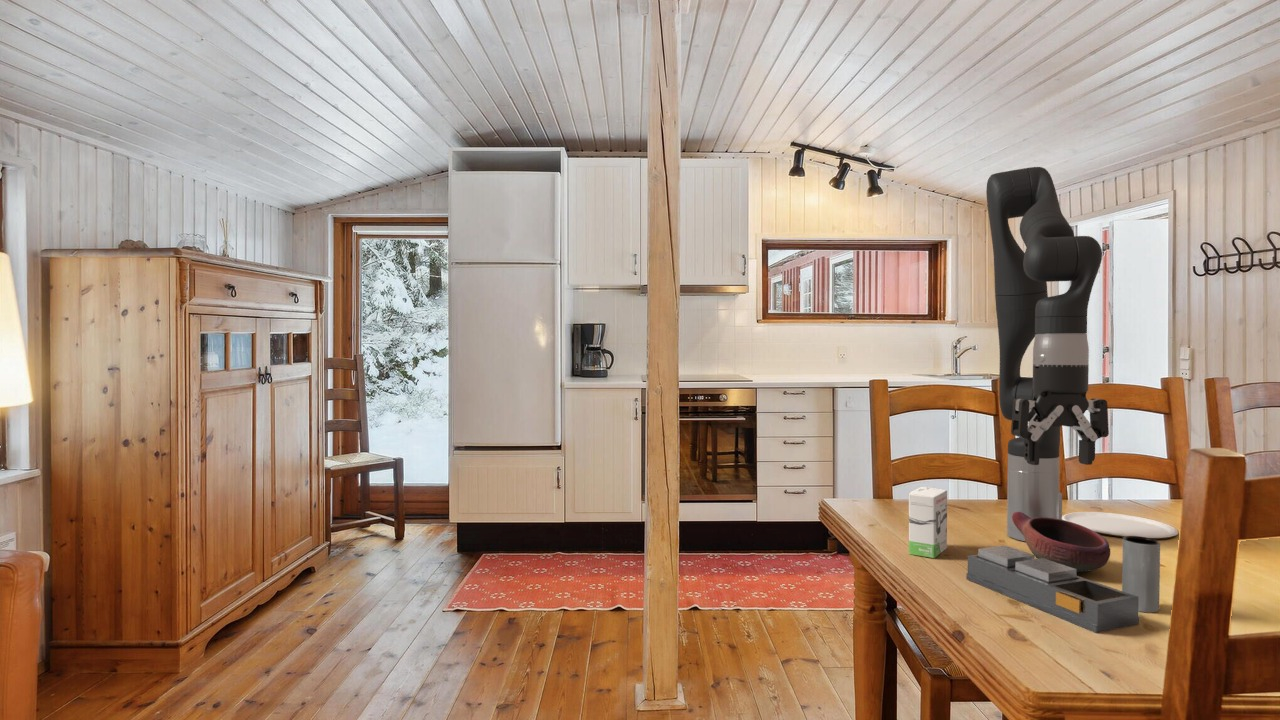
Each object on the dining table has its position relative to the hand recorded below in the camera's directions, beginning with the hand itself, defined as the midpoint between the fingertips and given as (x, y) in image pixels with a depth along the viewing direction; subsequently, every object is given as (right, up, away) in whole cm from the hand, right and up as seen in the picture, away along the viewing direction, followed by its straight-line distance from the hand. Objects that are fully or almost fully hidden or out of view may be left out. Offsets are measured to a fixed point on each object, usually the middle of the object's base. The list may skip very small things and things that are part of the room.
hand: (1059, 464), depth 106 cm
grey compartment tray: (-3, -21, -2) cm, 21 cm away
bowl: (+8, -21, +14) cm, 26 cm away
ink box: (-11, -21, +23) cm, 33 cm away
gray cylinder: (+9, -21, -5) cm, 24 cm away
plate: (+38, -21, +40) cm, 59 cm away
